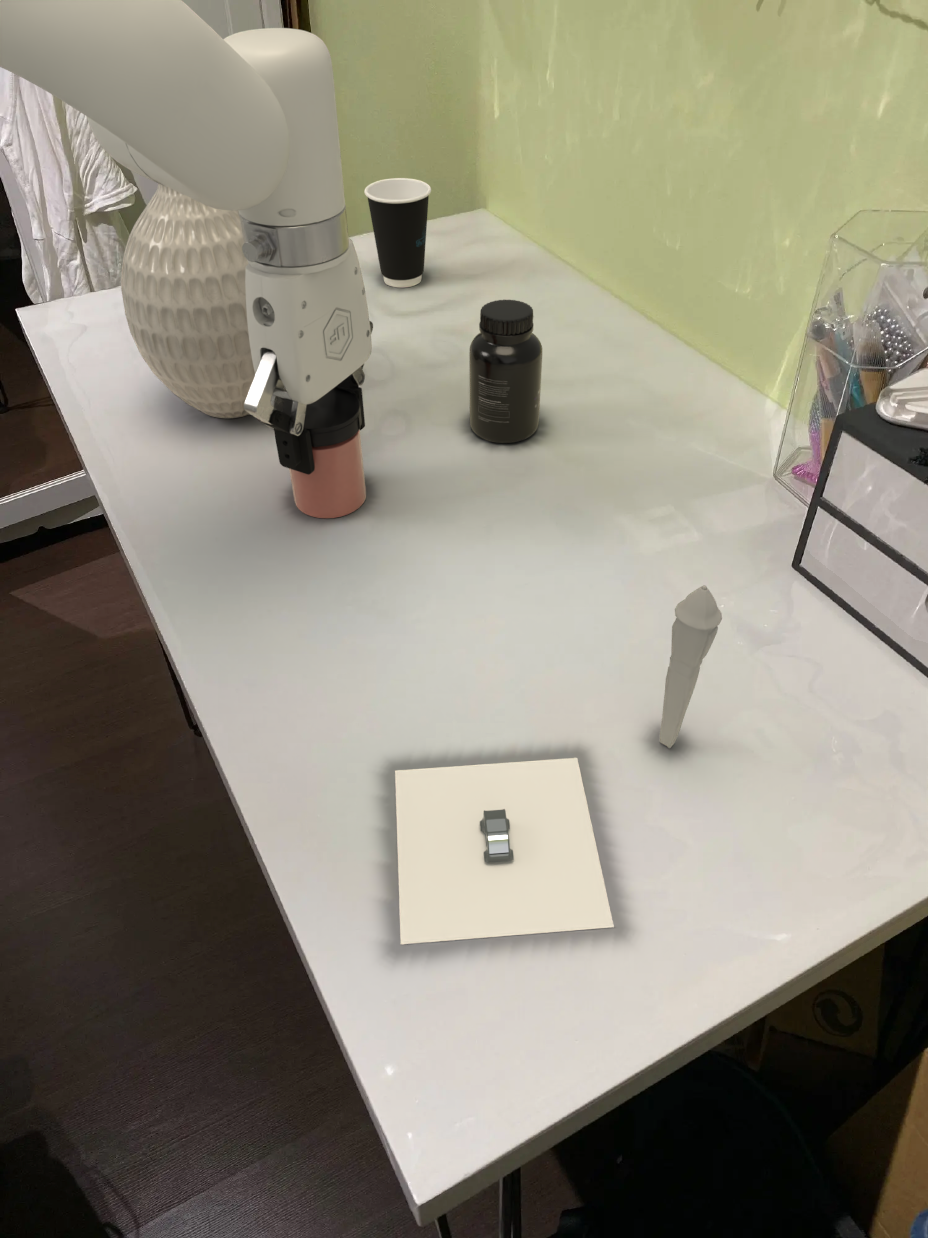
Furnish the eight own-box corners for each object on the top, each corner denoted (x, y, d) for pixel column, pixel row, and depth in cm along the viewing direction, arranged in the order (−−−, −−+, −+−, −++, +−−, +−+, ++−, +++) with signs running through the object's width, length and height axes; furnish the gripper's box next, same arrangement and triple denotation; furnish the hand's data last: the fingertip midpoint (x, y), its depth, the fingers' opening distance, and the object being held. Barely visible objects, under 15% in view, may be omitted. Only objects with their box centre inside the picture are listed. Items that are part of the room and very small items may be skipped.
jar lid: (373, 409, 78) (372, 391, 77) (345, 452, 73) (343, 434, 72) (298, 399, 79) (296, 381, 78) (266, 440, 74) (263, 422, 73)
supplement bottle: (552, 431, 89) (560, 313, 81) (496, 453, 86) (498, 334, 78) (511, 402, 93) (514, 287, 85) (456, 422, 90) (454, 305, 82)
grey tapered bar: (660, 722, 62) (694, 564, 52) (695, 742, 61) (737, 584, 51) (640, 744, 60) (672, 587, 51) (676, 765, 59) (715, 607, 50)
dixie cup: (363, 272, 117) (356, 182, 109) (421, 263, 119) (417, 173, 111) (382, 296, 112) (376, 203, 104) (443, 286, 114) (440, 194, 106)
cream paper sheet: (400, 944, 50) (399, 931, 49) (394, 770, 59) (393, 756, 58) (613, 927, 51) (616, 913, 50) (577, 757, 60) (579, 743, 59)
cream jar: (298, 523, 78) (284, 439, 73) (291, 481, 83) (277, 399, 77) (371, 512, 79) (363, 429, 74) (360, 472, 84) (352, 390, 78)
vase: (289, 352, 101) (256, 134, 86) (332, 422, 90) (303, 186, 75) (141, 381, 97) (78, 156, 81) (168, 459, 86) (102, 216, 71)
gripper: (263, 289, 58) (299, 512, 71) (402, 204, 70) (413, 410, 82) (174, 267, 61) (224, 486, 73) (322, 189, 72) (344, 391, 84)
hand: (323, 445), depth 77 cm, fingers closed on jar lid, 6 cm apart
